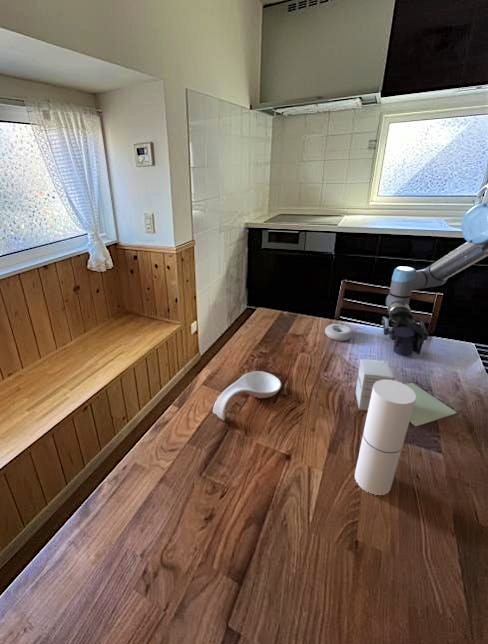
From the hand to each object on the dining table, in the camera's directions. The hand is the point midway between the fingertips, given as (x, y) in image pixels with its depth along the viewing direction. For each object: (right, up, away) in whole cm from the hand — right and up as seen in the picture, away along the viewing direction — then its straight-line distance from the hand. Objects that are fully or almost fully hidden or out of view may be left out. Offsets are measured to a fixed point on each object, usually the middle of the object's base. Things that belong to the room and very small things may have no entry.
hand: (408, 345), depth 111 cm
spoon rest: (-55, -16, -9) cm, 58 cm away
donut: (-14, +1, +21) cm, 25 cm away
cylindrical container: (-32, -26, -36) cm, 55 cm away
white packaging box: (-20, -15, -14) cm, 29 cm away
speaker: (+3, -4, +7) cm, 8 cm away
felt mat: (-8, -15, -15) cm, 23 cm away
